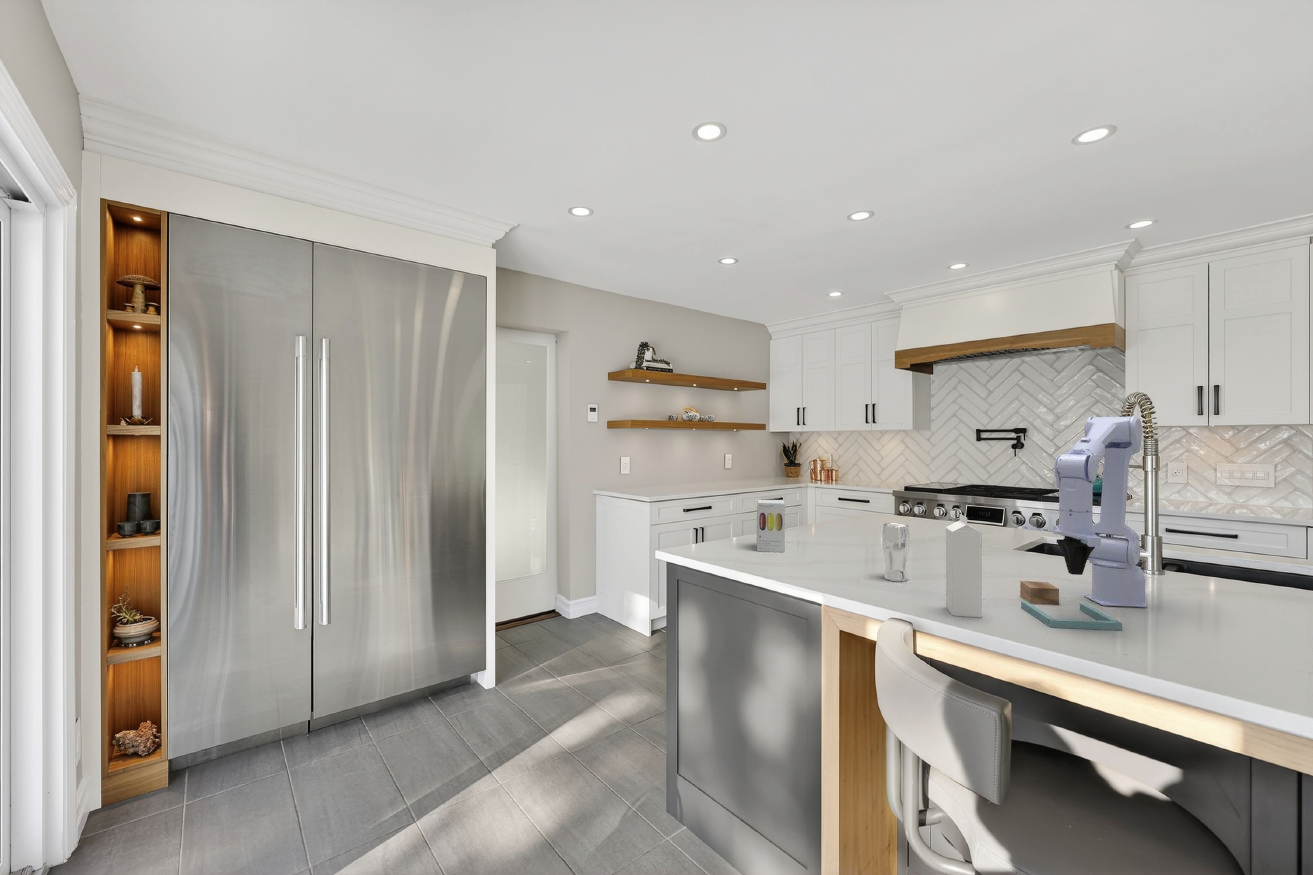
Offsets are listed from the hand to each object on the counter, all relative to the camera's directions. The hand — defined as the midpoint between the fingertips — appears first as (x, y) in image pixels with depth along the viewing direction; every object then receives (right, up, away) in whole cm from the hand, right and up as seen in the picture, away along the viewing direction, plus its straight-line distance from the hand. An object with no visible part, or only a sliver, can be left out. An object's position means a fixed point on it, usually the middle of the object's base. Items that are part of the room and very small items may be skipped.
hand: (1075, 573), depth 122 cm
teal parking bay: (+1, -10, +3) cm, 11 cm away
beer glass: (-23, -10, +36) cm, 44 cm away
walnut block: (+3, -10, +16) cm, 19 cm away
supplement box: (-50, -10, +76) cm, 92 cm away
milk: (-20, -11, +7) cm, 24 cm away
